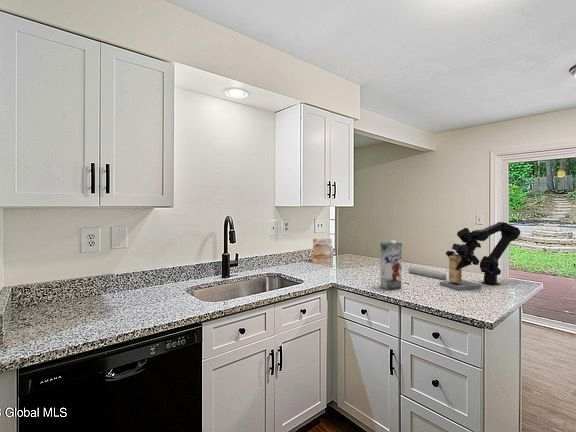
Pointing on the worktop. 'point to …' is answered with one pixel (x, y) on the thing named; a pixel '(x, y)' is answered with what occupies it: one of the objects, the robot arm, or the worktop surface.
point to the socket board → (460, 285)
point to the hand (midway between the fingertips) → (453, 268)
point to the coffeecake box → (322, 250)
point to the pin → (453, 272)
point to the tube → (427, 272)
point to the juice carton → (390, 265)
